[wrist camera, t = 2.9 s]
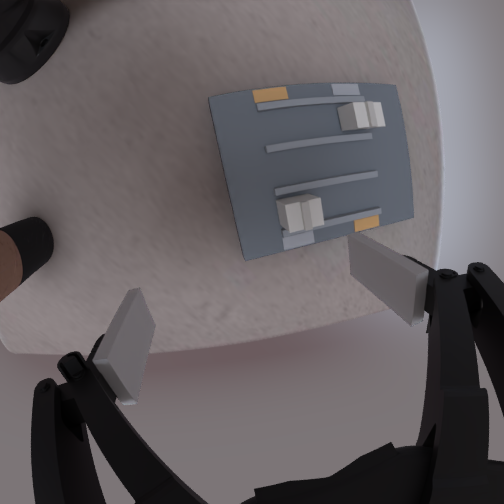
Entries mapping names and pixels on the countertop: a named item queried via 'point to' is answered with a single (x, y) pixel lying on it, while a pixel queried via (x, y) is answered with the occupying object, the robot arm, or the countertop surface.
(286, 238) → the switch board
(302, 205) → the tab
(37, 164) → the countertop surface
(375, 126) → the tab
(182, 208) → the countertop surface
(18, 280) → the travel mug
